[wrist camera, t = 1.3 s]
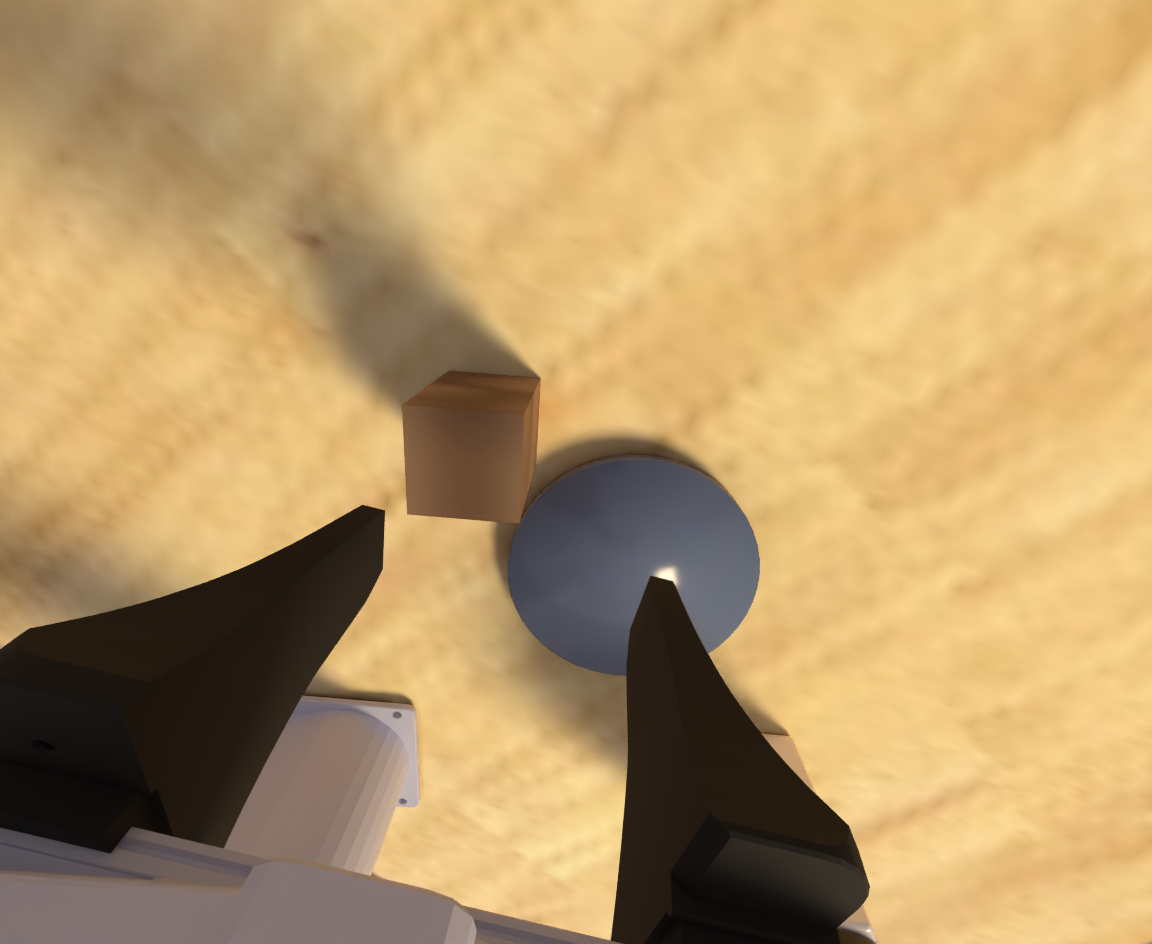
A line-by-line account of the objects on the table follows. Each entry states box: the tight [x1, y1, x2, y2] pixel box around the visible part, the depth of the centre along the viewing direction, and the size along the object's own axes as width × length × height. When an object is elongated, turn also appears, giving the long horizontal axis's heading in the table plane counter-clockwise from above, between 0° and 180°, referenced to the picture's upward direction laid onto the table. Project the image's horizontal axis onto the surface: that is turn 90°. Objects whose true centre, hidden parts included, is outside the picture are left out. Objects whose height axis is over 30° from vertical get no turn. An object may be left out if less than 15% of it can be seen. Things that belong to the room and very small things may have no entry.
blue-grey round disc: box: [508, 454, 760, 676], centre depth 26 cm, size 12×12×1 cm
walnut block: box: [402, 371, 541, 524], centre depth 21 cm, size 4×4×6 cm
